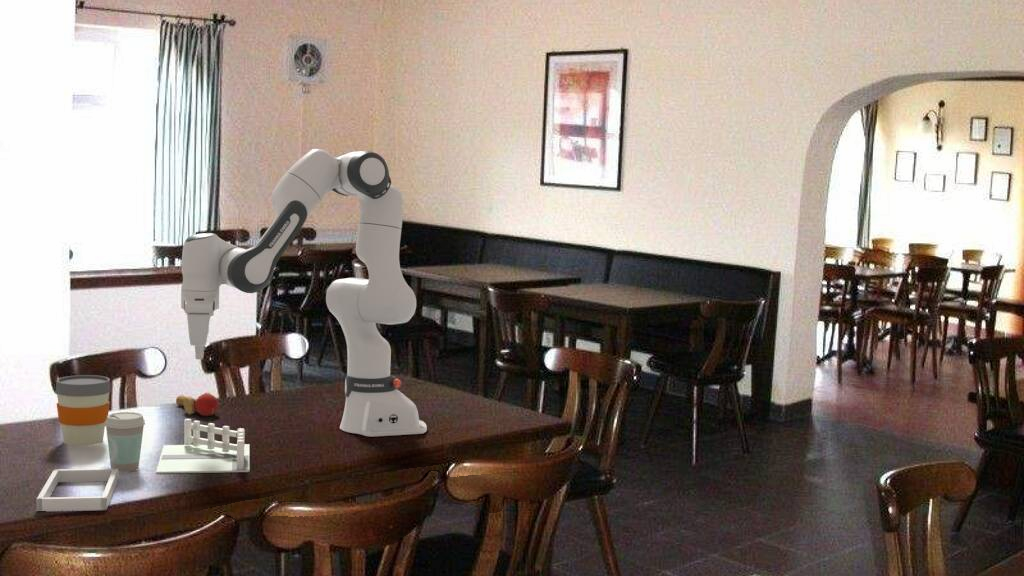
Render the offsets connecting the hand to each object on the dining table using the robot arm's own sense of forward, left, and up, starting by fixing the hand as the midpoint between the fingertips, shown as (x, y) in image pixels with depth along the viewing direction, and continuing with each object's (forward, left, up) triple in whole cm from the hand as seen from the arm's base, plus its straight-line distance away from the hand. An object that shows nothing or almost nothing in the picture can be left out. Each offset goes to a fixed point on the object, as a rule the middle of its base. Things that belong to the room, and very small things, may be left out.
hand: (199, 358), depth 293 cm
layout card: (-2, +15, -21) cm, 26 cm away
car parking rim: (+22, +42, -21) cm, 52 cm away
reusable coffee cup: (+27, -4, -21) cm, 34 cm away
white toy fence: (-4, +9, -20) cm, 22 cm away
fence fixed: (-10, +21, -20) cm, 31 cm away
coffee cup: (+15, +22, -21) cm, 34 cm away
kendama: (+2, -36, -21) cm, 42 cm away
